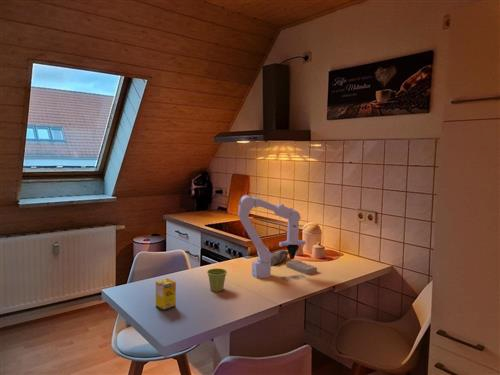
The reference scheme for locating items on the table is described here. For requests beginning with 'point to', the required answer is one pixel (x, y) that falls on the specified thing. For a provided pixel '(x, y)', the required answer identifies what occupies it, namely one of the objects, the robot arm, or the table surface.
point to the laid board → (293, 277)
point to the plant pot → (216, 279)
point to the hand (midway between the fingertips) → (291, 258)
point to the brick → (301, 267)
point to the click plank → (296, 279)
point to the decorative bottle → (278, 256)
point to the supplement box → (165, 294)
